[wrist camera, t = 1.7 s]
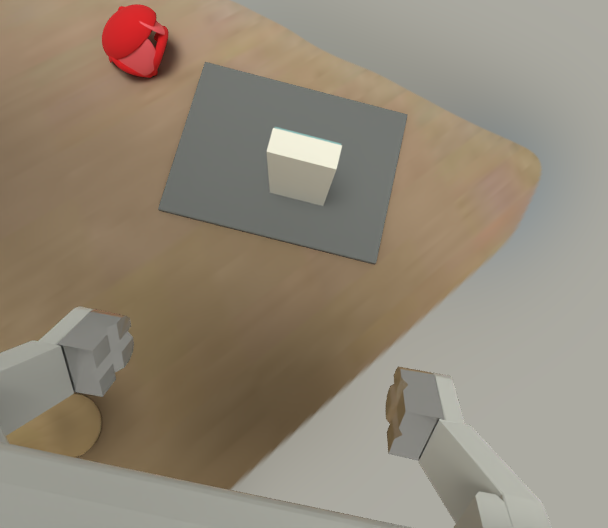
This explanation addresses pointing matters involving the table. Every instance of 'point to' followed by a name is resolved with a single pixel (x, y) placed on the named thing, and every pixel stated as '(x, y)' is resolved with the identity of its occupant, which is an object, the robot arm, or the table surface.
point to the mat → (254, 169)
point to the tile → (301, 165)
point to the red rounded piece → (134, 40)
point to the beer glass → (62, 428)
